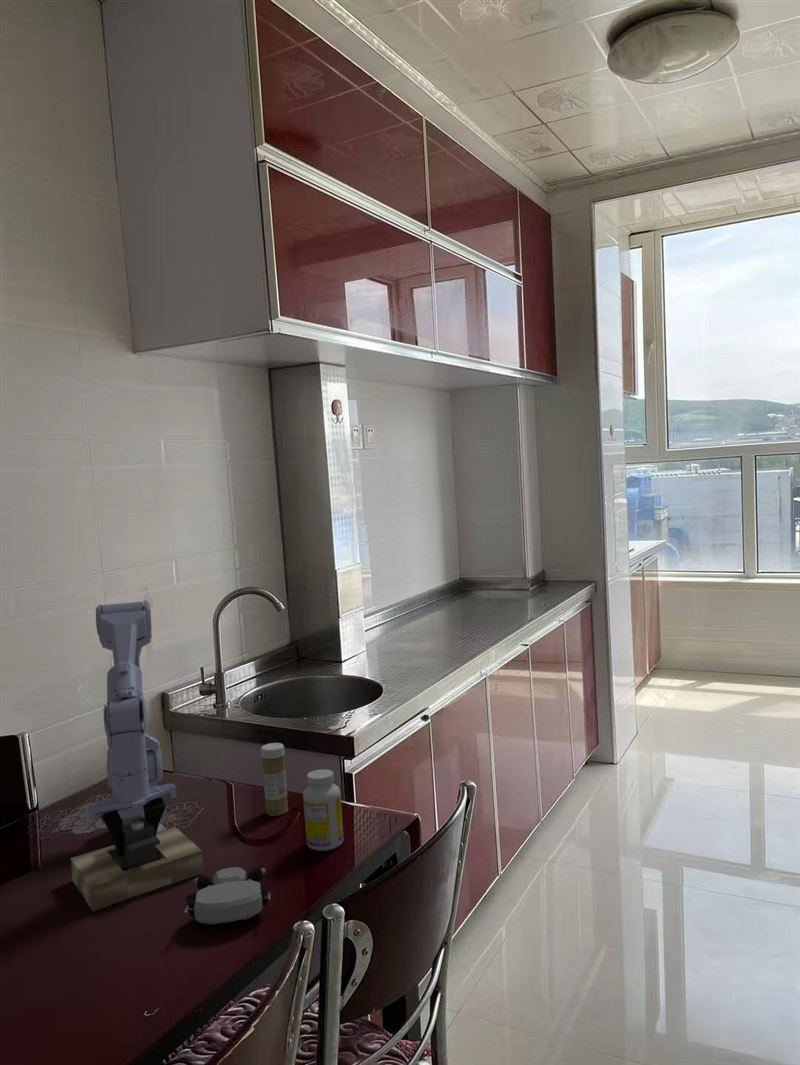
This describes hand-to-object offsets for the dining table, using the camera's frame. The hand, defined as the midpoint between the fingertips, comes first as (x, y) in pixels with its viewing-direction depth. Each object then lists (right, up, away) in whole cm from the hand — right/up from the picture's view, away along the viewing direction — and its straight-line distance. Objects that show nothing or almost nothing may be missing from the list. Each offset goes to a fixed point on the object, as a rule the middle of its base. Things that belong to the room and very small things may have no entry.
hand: (135, 849), depth 132 cm
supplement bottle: (+31, -3, +9) cm, 32 cm away
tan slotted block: (0, -5, 0) cm, 5 cm away
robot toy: (+18, -5, -11) cm, 22 cm away
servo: (0, -2, 0) cm, 2 cm away
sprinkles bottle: (+20, -3, +24) cm, 31 cm away
